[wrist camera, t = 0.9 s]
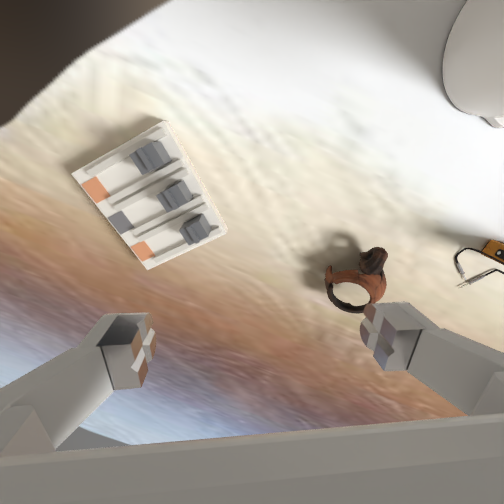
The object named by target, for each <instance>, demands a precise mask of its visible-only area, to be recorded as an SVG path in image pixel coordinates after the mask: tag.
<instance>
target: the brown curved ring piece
mask: <svg viewBox="0 0 504 504" xmlns="http://www.w3.org/2000/svg"><path fill="white" fill-rule="evenodd" d="M360 257H361V259H360V262H359V266H360V269H361V271H362V272H363V273H364V274H359V273H358V270H345V271H339V272H335V273H332V266H329V267H328V268H327V270H326V274H325V275H326V276H325V277H326V278H325V285H326V288H327V294H328V297H329V299H330V301H331V302H333V304H334V305H335V306H336V307H338V308H339V309H341V310H343V311H346V312H349V313H363V312H364V308H365V306H366V305H367V304H375V302H377V301H378V300H380V299H381V298H382V296H383V295H384V292H385V289H386V278H385V274H384V271H383V266H384V263H385V261H386V259H387V257H388V253H387V252H386V251H385V249H383V248H380V247H374V248H372V249H370V250H369V251H368V252H362V253H360ZM333 282H334V283H335V284H339V283H342V282H351V283H355V284H359V285H360V286H362V287H363V288H365V289H366V290H367V291H368V293H369V294H370V301H369V302H368V303H367V304H365V305H362V306H352V305H351V304H350V303H344V302H342V301H340V300H339V299H337V298H336V297H335V296H334V294H333V285H332V283H333Z"/></svg>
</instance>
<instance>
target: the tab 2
mask: <svg viewBox="0 0 504 504" xmlns="http://www.w3.org/2000/svg"><path fill="white" fill-rule="evenodd" d="M210 231H211V226H210V224H209V223H208V221H207V219H206V218H205V216H204V214H201V215H198V216H196V217H194V218H192V219H190V220H188V221H186V222H184V224H183V225H182V227H181V228H180V230H179V232H180V233H181V235H182V236H183V238H184V239H185V241H186V242H187V244H188V245H192V244H194V243H196V244H197V243H199V242H200V241H201V240H202V239H204V238H207V237H209V234H210Z"/></svg>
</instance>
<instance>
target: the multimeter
mask: <svg viewBox="0 0 504 504" xmlns="http://www.w3.org/2000/svg"><path fill="white" fill-rule="evenodd" d="M466 249H470V250H474V251H477V252H479V253H481V254H482V255H484V256H486V257H488V258H491V259H493V260H495V261H497V262H499V263H501V264H503V265H504V243H502V242H499V241H495V240H490V241H489V243H488V244H487V245H486V247H485V248H484V249H483V251H482V252H481V251H479V250H476V249H473V248H464V249H463V250H461V251H460V252H458V253H457V255H456V256H455V260H456V264H457V267H458V269H459V271H460V274H462V275H463V277H464V279H465V280H466V278H465V276H464V273H465V272H464V271H463V269H462V267H461V265H460V263H459V262H458V260H457V256H458V255H459V254H460V253H461V252H463V251H464V250H466ZM495 271H499V272H501V273H502V274H504V272H502V271H500V270H493V271H491V272H489V273H487V274H485V275H482V276H479V277H477V278H475V279H473V280H471V281H468V283H467V284H465V285H463V286H461V287H464V286H466V285H468V284H472V283H474V282H476V281H478V280H480V279H482V278H484V277H485V276H487V275H488V274H491V273H493V272H495ZM461 287H459V288H461Z"/></svg>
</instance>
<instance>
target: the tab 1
mask: <svg viewBox="0 0 504 504" xmlns="http://www.w3.org/2000/svg"><path fill="white" fill-rule="evenodd" d="M129 156H130V157H131V159H132V160H133V162H134V163H135V165H136V166H137V168H138V169H139V171H140V172H141V174H142V175H144V174H147V173H150V172H152V171H154V170H156V169H158V168H160V167H162V166H163V165H165V164H167V163H169V162H171V161H172V160H171V158H170V156H169V155H168V153H167V151H166V149H165V148H164V146H163V144H162V143H161V142H151V143H149V144H147V145H146V146H144V147H141V148H138V149H137V150H136V151H135V152H133V153H131V154H130V155H129Z"/></svg>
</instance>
